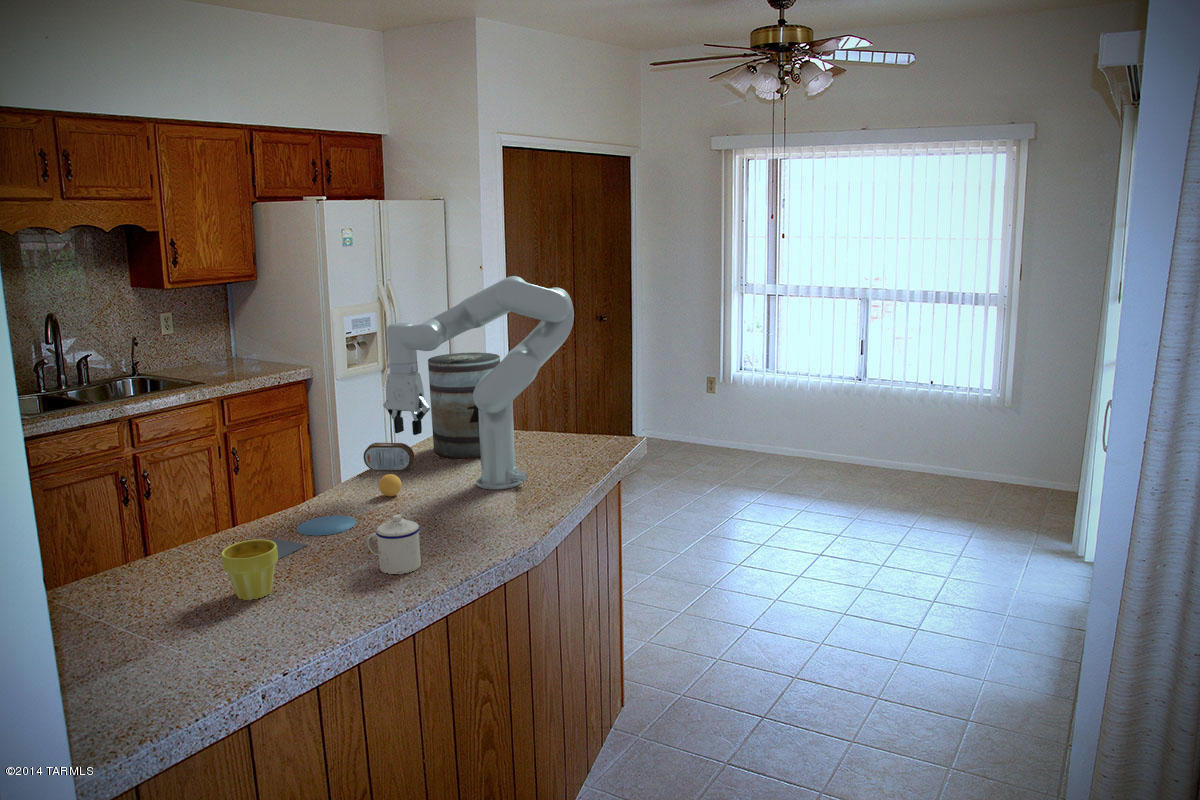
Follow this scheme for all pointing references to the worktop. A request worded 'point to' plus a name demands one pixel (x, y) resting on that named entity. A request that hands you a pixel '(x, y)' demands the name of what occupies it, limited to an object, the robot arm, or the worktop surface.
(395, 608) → the worktop surface
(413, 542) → the teacup with lid
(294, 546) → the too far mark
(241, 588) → the plant pot
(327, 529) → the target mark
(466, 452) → the barrel
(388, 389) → the robot arm
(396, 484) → the ball
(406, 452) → the tin
